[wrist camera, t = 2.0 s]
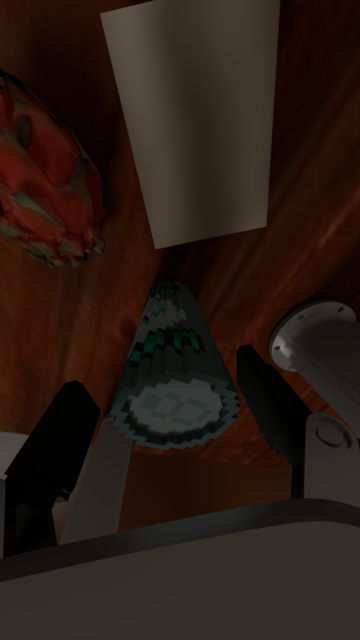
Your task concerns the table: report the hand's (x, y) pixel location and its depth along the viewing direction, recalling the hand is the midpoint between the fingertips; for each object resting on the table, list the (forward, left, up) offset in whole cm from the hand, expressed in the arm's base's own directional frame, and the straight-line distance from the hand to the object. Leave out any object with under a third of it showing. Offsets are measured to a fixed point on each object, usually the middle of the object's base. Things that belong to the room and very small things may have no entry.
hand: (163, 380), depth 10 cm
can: (-1, 0, -13) cm, 13 cm away
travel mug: (+14, +22, -13) cm, 30 cm away
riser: (-6, -13, -13) cm, 19 cm away
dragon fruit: (+7, -12, -13) cm, 19 cm away
